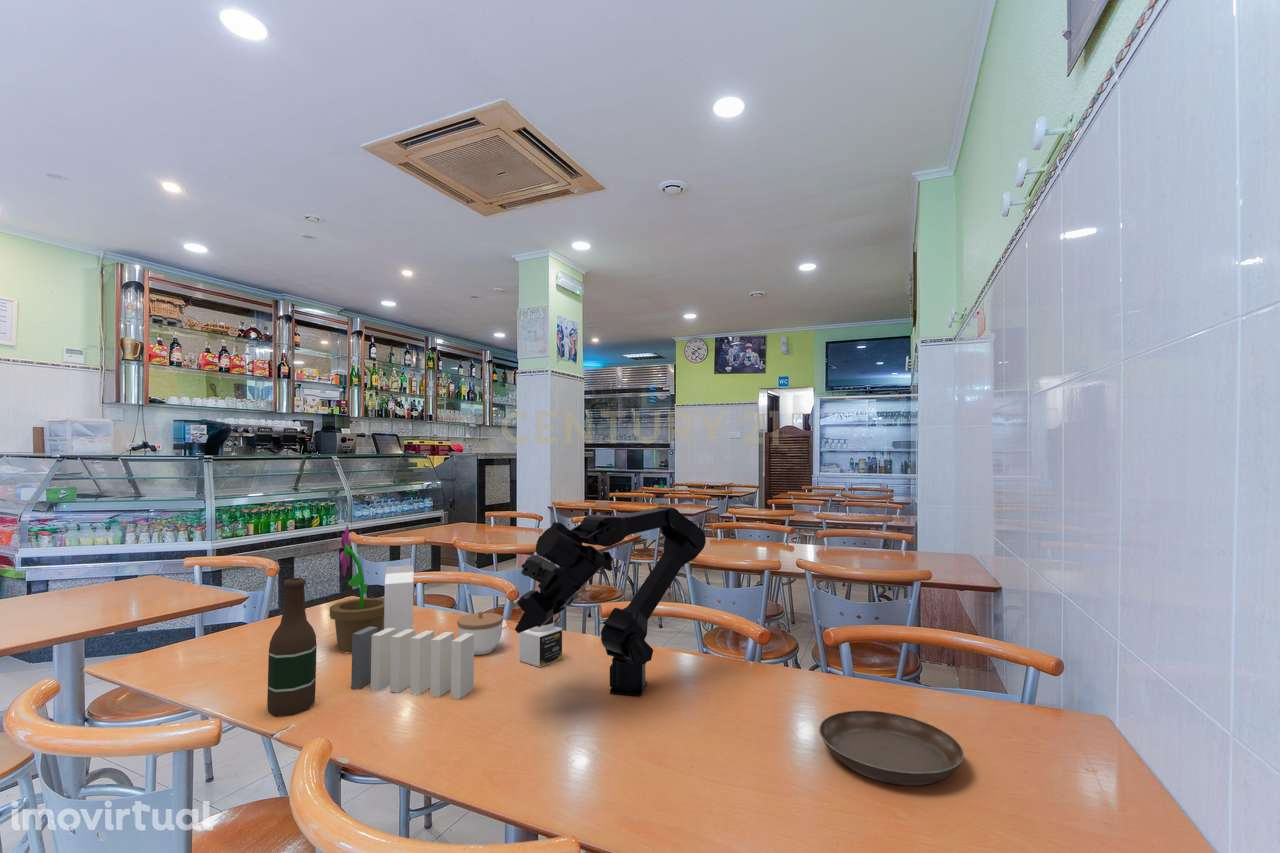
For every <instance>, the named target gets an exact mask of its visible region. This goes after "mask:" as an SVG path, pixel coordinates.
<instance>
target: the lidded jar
mask: <svg viewBox="0 0 1280 853" xmlns="http://www.w3.org/2000/svg"><path fill="white" fill-rule="evenodd" d="M503 621H504V619H503V616H502V615H501V614H499V613H496V612H495V613H494V612H483V611H482V610H481V611H480V610H479V611H478V612H477V613H470V614H467V615H464V616H461V617H459V618H458V619H457V636H458V637H459V636H461V635H463V634H465V633H470V634H474V656H482V655H486V654H490V653H492V652H493V650H494V649H495V648H496V647H497V646H498V644H499V642H500V640H501V638H502V633H503ZM458 637H457V638H458Z"/></svg>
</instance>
